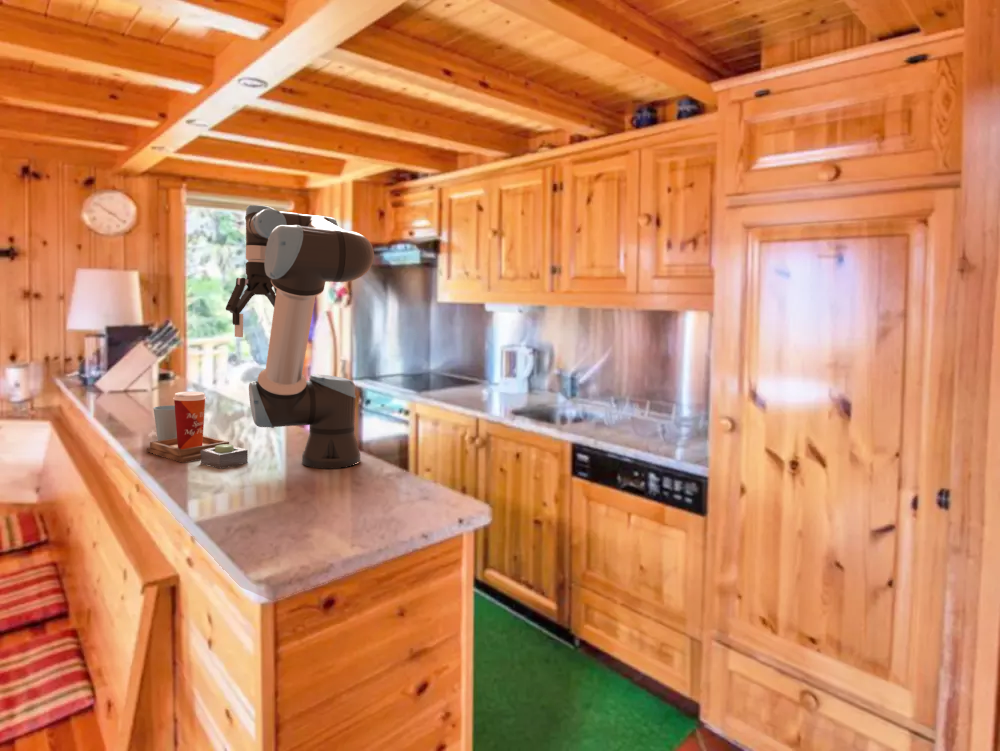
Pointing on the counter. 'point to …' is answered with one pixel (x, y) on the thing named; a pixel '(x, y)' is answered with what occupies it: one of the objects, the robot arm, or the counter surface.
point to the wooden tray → (182, 455)
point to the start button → (224, 448)
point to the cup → (165, 422)
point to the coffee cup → (189, 418)
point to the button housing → (224, 457)
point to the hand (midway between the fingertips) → (259, 336)
